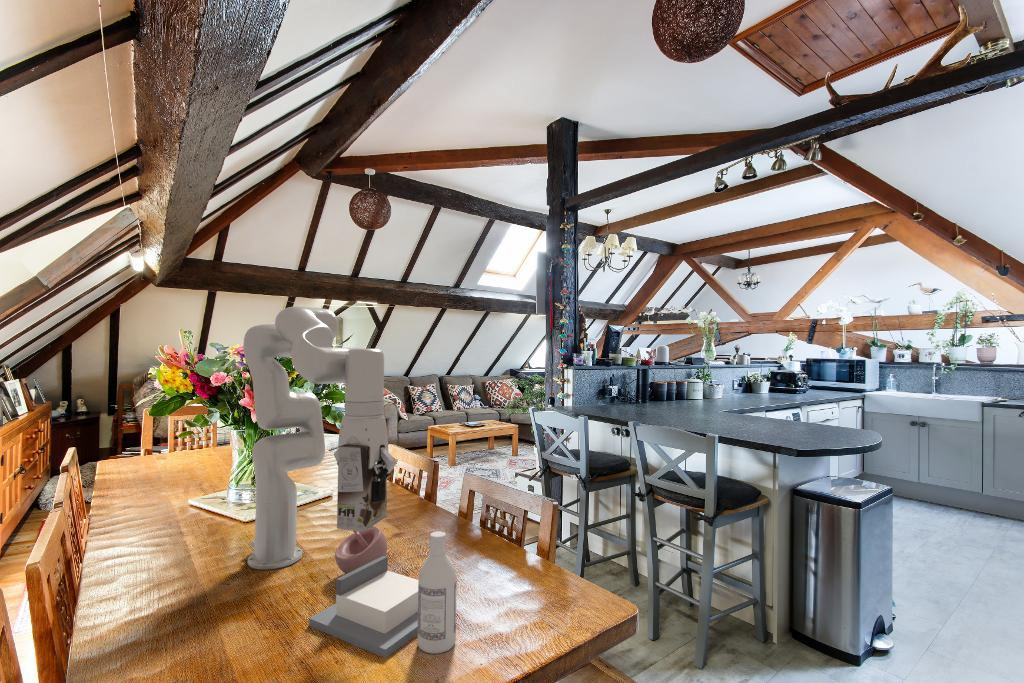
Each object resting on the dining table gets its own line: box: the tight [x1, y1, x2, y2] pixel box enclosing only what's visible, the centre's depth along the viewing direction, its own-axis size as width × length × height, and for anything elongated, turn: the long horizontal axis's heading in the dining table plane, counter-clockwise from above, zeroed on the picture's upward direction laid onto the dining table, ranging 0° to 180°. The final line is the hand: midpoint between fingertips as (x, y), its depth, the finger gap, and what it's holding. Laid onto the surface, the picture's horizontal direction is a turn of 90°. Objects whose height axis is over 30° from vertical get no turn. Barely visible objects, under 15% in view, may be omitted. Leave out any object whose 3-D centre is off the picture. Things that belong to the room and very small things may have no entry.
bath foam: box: [417, 530, 458, 655], centre depth 92 cm, size 7×7×20 cm
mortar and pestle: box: [334, 525, 388, 575], centre depth 119 cm, size 12×12×12 cm
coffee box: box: [336, 444, 388, 531], centre depth 100 cm, size 9×6×16 cm
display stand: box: [308, 555, 419, 659], centre depth 101 cm, size 20×20×8 cm
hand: (363, 496), depth 100 cm, fingers closed on coffee box, 7 cm apart
